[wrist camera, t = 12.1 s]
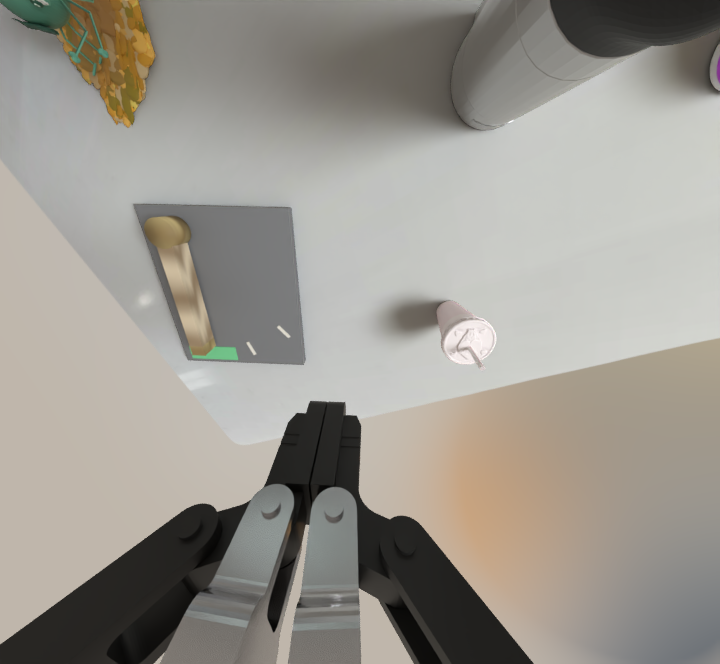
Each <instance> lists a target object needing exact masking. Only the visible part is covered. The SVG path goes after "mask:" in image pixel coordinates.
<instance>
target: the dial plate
mask: <svg viewBox="0 0 720 664" xmlns="http://www.w3.org/2000/svg"><path fill="white" fill-rule="evenodd" d="M134 207H135V210H136V213H137V216H138V219H139V222H140V225H141V227H142V230H143V233H144V236H145V239H146V242H147V245H148V247H149V250H150V253H151V256H152V259H153V262H154V265H155V267H156V270H157V273H158V276H159V279H160V282H161V285H162V288H163V290H164V293H165V296H166V299H167V302H168V305H169V308H170V310H171V313H172V316H173V319H174V322H175V325H176V328H177V330H178V333H179V336H180V339H181V342H182V345H183V348H184V350H185V353H186V356H187V359H188V360H196V361H221V362H245V363H269V364H294V365H304V363H305V360H306V359H305V349H304V338H303V327H302V317H301V306H300V295H299V285H298V274H297V263H296V253H295V242H294V231H293V220H292V210H291V208H288V207H247V206H206V205H165V204H134ZM163 216H177V217H180V218H181V219H183V220H184V221H185V222H186V223H187V224H188V226H189V228H190V230H191V239H190V241H189V242H188V246H189V250H190V254H191V257H192V261H193V264H194V268H195V272H196V275H197V279H198V282H199V286H200V290H201V293H202V297H203V301H204V304H205V308H206V311H207V315H208V319H209V322H210V326H211V330H212V333H213V337H214V340H215V344H216V346H215V347H214V348H213V349H212V350H211V351H210V352H209V353H208V354H207V355H206V356H200V355H192V352H191V349H190V346H189V343H188V340H187V337H186V334H185V331H184V328H183V325H182V322H181V319H180V316H179V313H178V310H177V306H176V303H175V300H174V297H173V294H172V291H171V288H170V285H169V282H168V279H167V276H166V273H165V270H164V267H163V264H162V261H161V258H160V255H159V252H158V249H157V247H156V246H155V245H153V244H152V243H151V242H150V241H149V239H148V238H147V236H146V234H145V231H144V225H145V222H146V221H147V220H148V219H149V218H153V217H163Z"/></svg>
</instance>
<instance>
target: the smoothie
mask: <svg viewBox="0 0 720 664" xmlns="http://www.w3.org/2000/svg"><path fill="white" fill-rule="evenodd" d="M436 315H437V319H438V323H439V328H440V332H441V337H442V338H441V348H442V350H443V352H444V353H445V355H446V356H447V358H448V359H450V360H451V361H453V362H455V363H458V364H473V363H476V364H477V365H478V367H479V368H480V370H485V366H484V365H483V363H482V362H481V360H483V359H484V358H486V357H487V356H488V355H489V354H490V353H491V352H492V350H493V349H494V346H495V344H496V333H495V331H494V329H493V328H492V326H491V325H490V324H489V322H488V321H486V320H484V319H483V318H480V317H476V316H475V315H473V314H472V313H471V312H469V311H468V310H466V309H465V308H464V307H462V306H461V305H459V304H458V303H457V302H455V301H446V302H443V303H442V304H441V305H440V306H439V307H438V309H437V312H436Z"/></svg>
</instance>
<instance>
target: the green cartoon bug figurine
mask: <svg viewBox="0 0 720 664" xmlns="http://www.w3.org/2000/svg"><path fill="white" fill-rule="evenodd" d="M0 3H1V4H2V5H4V6H5V7H6V8H7V9H8V10H10V11H11V12H12V13H14V14H15V15H17V16H18V17H20V18H22V19H23V20H25V21H27V22H25V21H24V22H22V21H19V20H17V19H15V20H17V21H19V22H20V23H22V24H23V25H25V26H26V27H28V28H31V29H35V30H41V31H44V32H47V33H51V34H55V35H57V38H58V39H59V40H60V42H62V43H64V45H63V49H64V51H65V52H66V53H67V54H68V55H69V57H70V60H71V62H72V63H73V64H74V65H76V67H77V70H78V71H80V72H82V77H83V78H84V79H85V80H86V81H87V82H88V84H90V85H91V83H93V84H94V87H95V88H96V89H99V88H100V95H101V97H102V98H103V99H104V101H105V103H106V106H107V110H108V113H109V114H110V115H111V116H112V118H113V120H114V121H115V123H116V125H117V124H118V122H123V123H124V125H126V126H127V127H128V128H129V127H130V125H131V124H132V125H133V122H134V115H133V112H135V110H136V108H137V107H138V106H139V104H140V102H141V101H142V100H144V99H145V92H146V86H145V78H147V77H148V74H149V67H150V65H152V64H153V61H154V58H155V52H154V50H153V47H152V44H151V40H150V35H149V33H148V31H147V29H146V26H145V24H144V21H143V17H142V13H141V9H140V5H139V1H138V0H0ZM12 19H14V18H12ZM54 29H55V30H54ZM130 122H131V123H130ZM132 127H133V126H132Z"/></svg>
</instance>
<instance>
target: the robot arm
mask: <svg viewBox="0 0 720 664" xmlns="http://www.w3.org/2000/svg"><path fill="white" fill-rule="evenodd" d="M719 28H720V0H483V1H482V3H481V5H480V7H479V9H478V10H477V12H476V14H475V19H474V24H473V26H472V28H471V29H470V31H469V33H468V34H467V36H466V38H465V39H464V41H463V43H462V45H461V47H460V49H459V51H458V53H457V55H456V59H455V62H454V65H453V69H452V76H451V95H452V100H453V104H454V106H455V109H456V111H457V113H458V115H459V116H460V117H461V119H462V120H463V121H464V122H465V123H467V124H468V125H469V126H471V127H473V128H476V129H480V130H491V129H496V128H498V127H501V126H504V125H506V124H508V123H510V122H512V121H514V120H515V119H517V118H518V117H521V116H522V115H524V114H526V113H528V112H530V111H532V110H534V109H535V108H537V107H539V106H541V105H543V104H545V103H547V102H548V101H550V100H552V99H554V98H556V97H558V96H560V95H561V94H563V93H565V92H567V91H569V90H571V89H573V88H574V87H576V86H578V85H580V84H582V83H584V82H586V81H588V80H589V79H591V78H593V77H595V76H597V75H599V74H601V73H602V72H604V71H606V70H608V69H610V68H611V67H613V66H615V65H617V64H619V63H621V62H623V61H624V60H626V59H628V58H630V57H632V56H634V55H636V54H637V53H639V52H641V51H643V50H645V49H647V48H649V47H650V46H665V45H673V44H678V43H682V42H686V41H690V40H692V39H695V38H698V37H701V36H703V35H706V34H708V33H710V32H712V31H715V30H717V29H719ZM360 442H361V424H360V423H359V420H358V418H357V416H351V415H346V404H345V402H322V401H310V403H309V406H308V409H307V412H306V413H296V415H295V416H294V417H293V418H292V419H291V420H290V421H289V422H288V425H287V427H286V430H285V433H284V436H283V438H282V441H281V445H280V447H279V449H278V452H277V455H276V457H275V460H274V463H273V465H272V468H271V471H270V474H269V476H268V479H267V482H266V484H265V486H264V487H263V488H262V489H261V490H260V491H258V492H257V493H256V494H255V495H254V497H253V498H252V499H251V500H250V501H249V502H247V503H245V504H243V505H240V506H236V507H233V508H230V509H226V510H222V511H219V512H217V511H216V509H215V508H214V507H213V506H211V505H209V504H197V505H194V506H191V507H189V508H187V509H185V510H184V511H182V512H181V513H180V514H178V515H177V516H175V517H174V518H173V519H171V520H170V521H169V522H167V523H166V524H164V525H163V526H162V527H160V528H159V529H158V530H156V531H155V532H154V533H152V534H151V535H150V536H148V537H147V538H145V539H144V540H143V541H141V542H140V543H139V544H137V545H136V546H134V547H133V548H132V549H130V550H129V551H128V552H126V553H125V554H124V555H122V556H121V557H119V558H118V559H117V560H115V561H114V562H113V563H111V564H110V565H108V566H107V567H106V568H105V569H103V570H102V571H100V572H99V573H98V574H96V575H95V576H93V577H92V578H91V579H90V580H88V581H87V582H85V583H84V584H82V585H81V586H80V587H78V588H77V589H76V590H74V591H73V592H72V593H70V594H69V595H67V596H66V597H65V598H63V599H62V600H61V601H59V602H58V603H57V604H55V605H54V606H52V607H51V608H50V609H48V610H47V611H46V612H44V613H43V614H42V615H40V616H39V617H37V618H36V619H35V620H33V621H32V622H31V623H29V624H28V625H26V626H25V627H24V628H22V629H21V630H20V631H18V632H17V633H16V634H14V635H13V636H11V637H10V638H9V639H7V640H6V641H5V642H3V643H2V644H0V664H153V663H155V661H156V660H157V659H158V658H159V657H160V656H161V655H162V654H163V653H164V652H165V651H166V652H165V654H164V656H163V658H162V660H161V662H160V664H276V660H277V654H278V646H279V637H280V632H281V627H282V623H283V619H284V615H285V611H286V608H287V604H288V600H289V596H290V592H291V589H292V585H293V581H294V577H295V573H296V569H297V566H298V561H299V558H300V554H301V548H302V539H303V535H304V529H305V525H306V524H307V525H309V532H308V540H307V548H306V557H305V564H304V572H303V580H302V588H301V595H300V599H299V602H298V604H297V607H296V612H295V617H294V623H293V630H292V638H291V646H290V652H289V660H288V664H361V643H360V608H359V607H360V606H359V588H360V589H361V590H363V591H365V592H367V593H369V594H370V595H372V596H374V597H376V598H377V599H378V600H379V602H380V604H381V606H382V607H383V609H384V611H385V613H386V614H387V616H388V618H389V620H390V621H391V623H392V625H393V627H394V628H395V630H396V632H397V634H398V636H399V637H400V639H401V641H402V643H403V645H404V647H405V648H406V650H407V652H408V654H409V655H410V657H411V659H412V661H413V663H414V664H533V662H532V661H531V660H530V659H529V657H528V656H527V655H526V654H525V652H524V651H523V650H522V649H521V648H520V646H519V645H518V644H517V643H516V642H515V640H514V639H513V638H512V636H511V635H510V634H509V633H508V632H507V630H506V629H505V628H504V627H503V625H502V624H501V623H500V622H499V620H498V619H497V618H496V617H495V616H494V614H493V613H492V612H491V611H490V610H489V608H488V607H487V606H486V605H485V603H484V602H483V601H482V600H481V598H480V597H479V596H478V595H477V593H476V592H475V591H474V590H473V589H472V587H471V586H470V585H469V584H468V582H467V581H466V580H465V579H464V577H463V576H462V575H461V574H460V573H459V571H458V570H457V569H456V568H455V567H454V565H453V564H452V563H451V562H450V560H449V559H448V558H447V557H446V555H445V554H444V553H443V552H442V550H441V549H440V548H439V547H438V546H437V544H436V543H435V542H434V541H433V540H432V538H431V537H430V536H429V534H428V533H427V532H426V531H425V530H424V528H423V527H422V526H421V525H420V524H419V523H418V522H417V521H415V520H414V519H412V518H410V517H407V516H397V517H393V518H392V519H387V518H385V517H383V516H381V515H378V514H376V513H374V512H373V511H371V510H370V509H368V508H367V507H366V506H365V504H364V503H363V502H362V500H361V498H360V495H359V467H360V445H361V443H360Z"/></svg>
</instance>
